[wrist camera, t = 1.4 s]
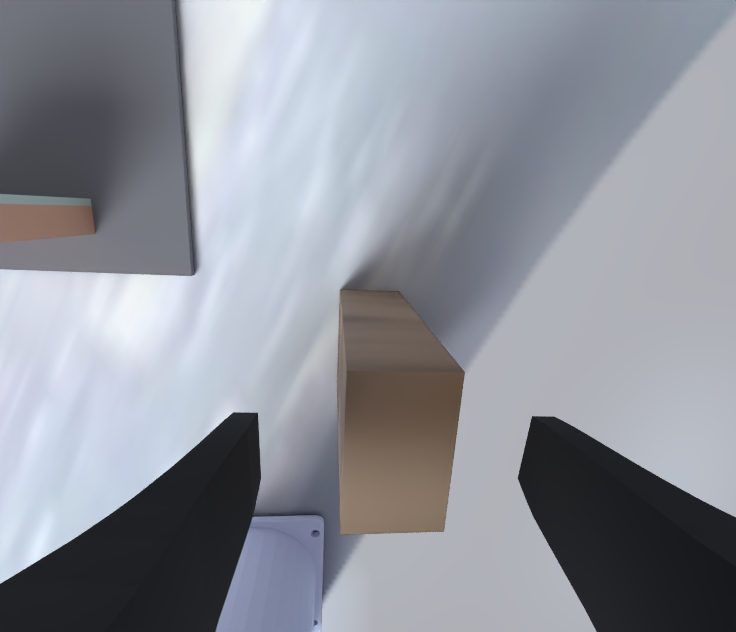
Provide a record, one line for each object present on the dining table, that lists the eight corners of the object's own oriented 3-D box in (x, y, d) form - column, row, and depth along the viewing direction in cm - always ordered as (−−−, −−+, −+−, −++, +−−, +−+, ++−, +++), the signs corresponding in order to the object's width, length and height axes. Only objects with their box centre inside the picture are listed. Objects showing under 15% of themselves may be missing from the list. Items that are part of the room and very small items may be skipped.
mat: (194, 274, 18) (191, 275, 18) (-109, 263, 17) (-120, 264, 16) (168, -90, 14) (163, -98, 14) (-223, -140, 13) (-241, -151, 13)
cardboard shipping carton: (392, 381, 20) (444, 531, 11) (337, 380, 20) (340, 534, 11) (398, 291, 19) (464, 372, 10) (340, 289, 19) (346, 370, 9)
